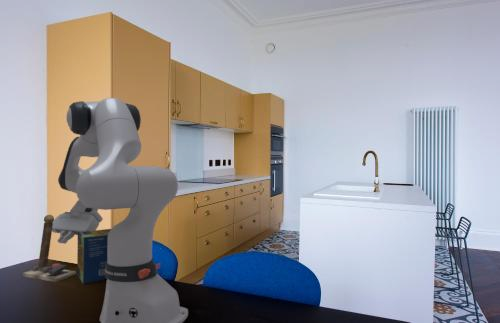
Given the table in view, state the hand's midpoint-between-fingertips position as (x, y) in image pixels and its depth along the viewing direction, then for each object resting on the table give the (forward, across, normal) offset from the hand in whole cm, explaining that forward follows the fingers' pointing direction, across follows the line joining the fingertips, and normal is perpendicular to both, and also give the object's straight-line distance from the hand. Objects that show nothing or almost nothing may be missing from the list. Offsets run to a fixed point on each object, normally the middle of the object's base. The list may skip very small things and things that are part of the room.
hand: (61, 242), depth 127 cm
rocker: (+11, +8, -1) cm, 13 cm away
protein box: (+8, +21, +7) cm, 23 cm away
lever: (+11, 0, 0) cm, 11 cm away
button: (+10, +4, +2) cm, 11 cm away
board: (+12, +4, +2) cm, 13 cm away
